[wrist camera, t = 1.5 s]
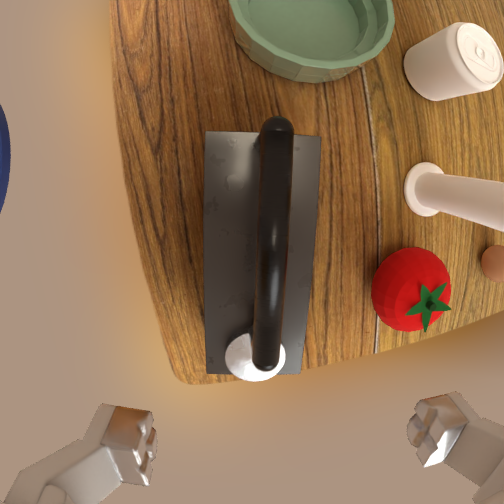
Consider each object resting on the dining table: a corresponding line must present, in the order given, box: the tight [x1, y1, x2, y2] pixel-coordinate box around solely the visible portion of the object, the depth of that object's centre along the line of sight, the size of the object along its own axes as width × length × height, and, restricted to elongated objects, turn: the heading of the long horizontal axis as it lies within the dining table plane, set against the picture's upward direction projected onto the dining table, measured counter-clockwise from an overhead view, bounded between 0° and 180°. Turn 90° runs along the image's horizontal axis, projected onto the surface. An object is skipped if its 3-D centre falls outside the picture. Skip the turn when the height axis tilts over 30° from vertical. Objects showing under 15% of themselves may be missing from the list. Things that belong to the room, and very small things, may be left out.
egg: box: [481, 245, 504, 283], centre depth 36 cm, size 5×5×7 cm
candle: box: [404, 162, 504, 232], centre depth 25 cm, size 7×7×25 cm
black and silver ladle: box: [225, 116, 294, 381], centre depth 24 cm, size 24×6×11 cm, turn 178°
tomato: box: [371, 247, 451, 332], centre depth 35 cm, size 10×10×10 cm
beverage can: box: [404, 22, 504, 101], centre depth 27 cm, size 8×8×12 cm
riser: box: [203, 131, 321, 375], centre depth 34 cm, size 10×24×9 cm, turn 178°
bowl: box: [228, 0, 395, 83], centre depth 27 cm, size 18×18×7 cm
